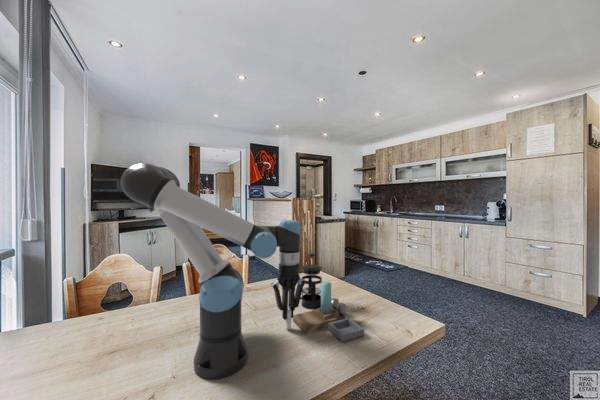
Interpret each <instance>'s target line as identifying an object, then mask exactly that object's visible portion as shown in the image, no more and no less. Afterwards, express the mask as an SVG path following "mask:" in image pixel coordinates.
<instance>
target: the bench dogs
mask: <svg viewBox="0 0 600 400" xmlns="http://www.w3.org/2000/svg"><path fill="white" fill-rule="evenodd" d="M339 301H340V300H339V299H338V298H331V307H332V308H333V309H335V310H336V311H338V312H339V316H341V317H342V319H346V318H347V304H346V303H344V302H339Z"/></svg>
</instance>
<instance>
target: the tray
mask: <svg viewBox="0 0 600 400" xmlns="http://www.w3.org/2000/svg"><path fill="white" fill-rule="evenodd" d="M327 331H329V332H330V333H331V334H332V335H333V336H334V337H335V338H336V339H338V341H340V342H341V344H345V343H348V342H350V341H353V340H356V339H360V338H363V337H365V329H364V328H363V327H361V325H359V324H358V323H356V322H354V320H352V319H351V318H349V317H346V319H342V320H338V321H335V322H331V323H328V328H327Z"/></svg>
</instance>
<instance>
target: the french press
mask: <svg viewBox="0 0 600 400" xmlns="http://www.w3.org/2000/svg"><path fill="white" fill-rule="evenodd" d="M306 255H307V256H309V257H310V259H311V261H310V262H311V264H305V265H303V266H301V269H302V273H303V274H304V275H303V276H302V277H301V279H303V280H304V281H305V284H304V285H308V287H303V289H302V293H301V297H300V300H301V307H302V308H304V309H308V310H316V309H319V308H321V288H319V287H316V285H319V284H321V283H322V282H323V277H321V276H320V275H319V274H320V273H321V270H322V269H323V268H322V266H321V265H318V264H313V258H314V257H315V256H317V254H316V253H312V252H309V253H307V254H306ZM306 279H308V280H306ZM313 279H317V280H316V281H313Z"/></svg>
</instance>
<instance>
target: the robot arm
mask: <svg viewBox="0 0 600 400" xmlns="http://www.w3.org/2000/svg"><path fill="white" fill-rule="evenodd" d="M120 186H121V189H122V191H123V193H124V195H126V196H127V197H128V198H129V199H130V200H132V201H134V202H136V203H140V204H142V205H144V206H146V207H147V209H148V210H149V212H150V213H151V214H153V215H157V216H159V217H160V218H161V220H162V221H163V223H164V224H165V225H166V227H167V229H168V230H169V232H170V233H171V234H172V236H173V237H174V239H175V240H176V242H177V243H178V245H179V246H180V247H181V249H182V251H183V253H184V254H185V255H186V257H187V258H188V259H189V261H190V263H191V264H192V266H193V267H194V269H195V270H196V271H197V273H198V274H199V278H198V284H199V285H200V286H201V287H200V290H199V295H198V301H199V302H198V303H199V337H200V338H199V341H198V344H197V348H196V351H195V353H194V357H193V370H194V373H195V374H196V375H197V376H199V377H200V378H203V379H209V380H215V379H216V380H217V379H223V378H227V377H230V376H231V375H234V374H236V373H237V372H239V371H240V370H241V369H242V368H243V367H245V365H246V364H247V361H248V347H247V346H248V345H247V344H246V339H244V335H243V332H242V302H243V301H242V300H243V292H244V287H245V285H244V279H243V276H242V273H240V272H239V271H238V270H237V269H235V268H234V267H233V265H232V264H231V263H230V261H229V260H226V259H224V258H223V259H222V257H221V256H220V254H219V253H218V252H219V251H217V249H216V248H215V247H214V245H213V243H212V241H211V240H210V239H209V237H208V236H207V234H206V233H205V231H204V230H206V231H208V232H209V233H210V232H211V233H213V234H215V235H217V236H218V237H222V238H223V239H225V240H227V241H230V242H232V243H234V244H236V245H238V246H240V247H242V248H245V250H249V251H251V252H252V253H253V255H254V256H256V257H257V258H260V259H268V258H270V257H272V256H273V255H274V254H275V253H276V251H277V248H279V249H278V262H279V263H278V276H277V278H276V279H277V280H276V281H275V282H271V287H272V289H273V292H274V296H275V301H276V305H277V306H276V307H277V308H278V309H279V310H280V311H282V313H281V315H282V317H281V318H282V319H283V320H284V323H283V326H284V327H285V328H286V330H291V329H292V319H293V315H294V311H296V309H295V308H299V306H300V305H299V304H300V301H301V299H300V297H302V289H304V286H305V285H306V284H305V281H306V280H305V279H304V280H305V281H304V280H303V279H302V278H301V277H300V253H301V251H300V249H301V248H300V247H301V246H300V245H301V223H300V222H299V221H298V220H295V219H294V220H293V219H292V220H291V219H284V220H283V219H282V220H280V221H279V225H256V224H254V223H252V222H250V221H248V220H246V219H244V218H242V217H240V216H238V215H236V214H234V213H232V212H230V211H228V210H226V209H223V208H222V207H220V206H217V205H216V204H214V203H212V202H210V201H208V200H206V199H204V198H202V197H200V196H198V195H197V194H194V193H191V192H190V191H188V190H186V189H184V188H182V187H181V182H180V179H178V176H176V174H175V173H173V172H172V171H171V170H170V169H167V168H165V167H161V166H157V165H154V164H151V163H145V162H143V163H141V162H140V163H136V164H133V165H130V166H129V167H128V168H126V169H125V171H123V174H122V175H121V178H120ZM280 286H281V290H282V293H281V292H280V289H279V288H280ZM281 295H282V297H281Z"/></svg>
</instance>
